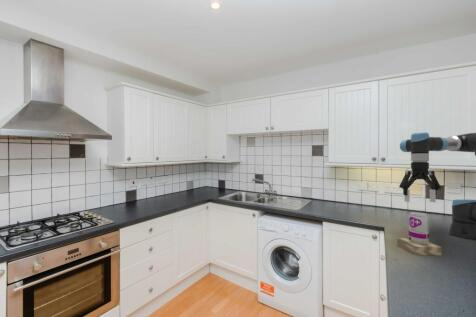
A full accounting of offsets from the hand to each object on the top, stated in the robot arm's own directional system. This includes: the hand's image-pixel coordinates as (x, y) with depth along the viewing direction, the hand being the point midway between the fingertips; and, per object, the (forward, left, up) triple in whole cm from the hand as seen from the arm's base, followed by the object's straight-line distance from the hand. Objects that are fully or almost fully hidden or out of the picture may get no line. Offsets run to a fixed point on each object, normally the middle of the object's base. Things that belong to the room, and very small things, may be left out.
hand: (419, 201), depth 122 cm
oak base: (+2, +2, -25) cm, 25 cm away
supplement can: (+2, +2, -21) cm, 21 cm away
